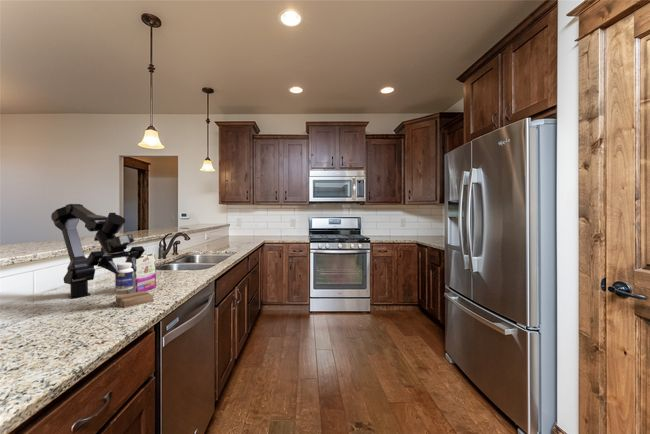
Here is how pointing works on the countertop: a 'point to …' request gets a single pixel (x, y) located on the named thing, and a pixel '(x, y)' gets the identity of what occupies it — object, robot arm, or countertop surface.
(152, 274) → the candy bar box
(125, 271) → the pill bottle
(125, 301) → the walnut block
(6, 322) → the countertop surface
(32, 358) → the countertop surface
